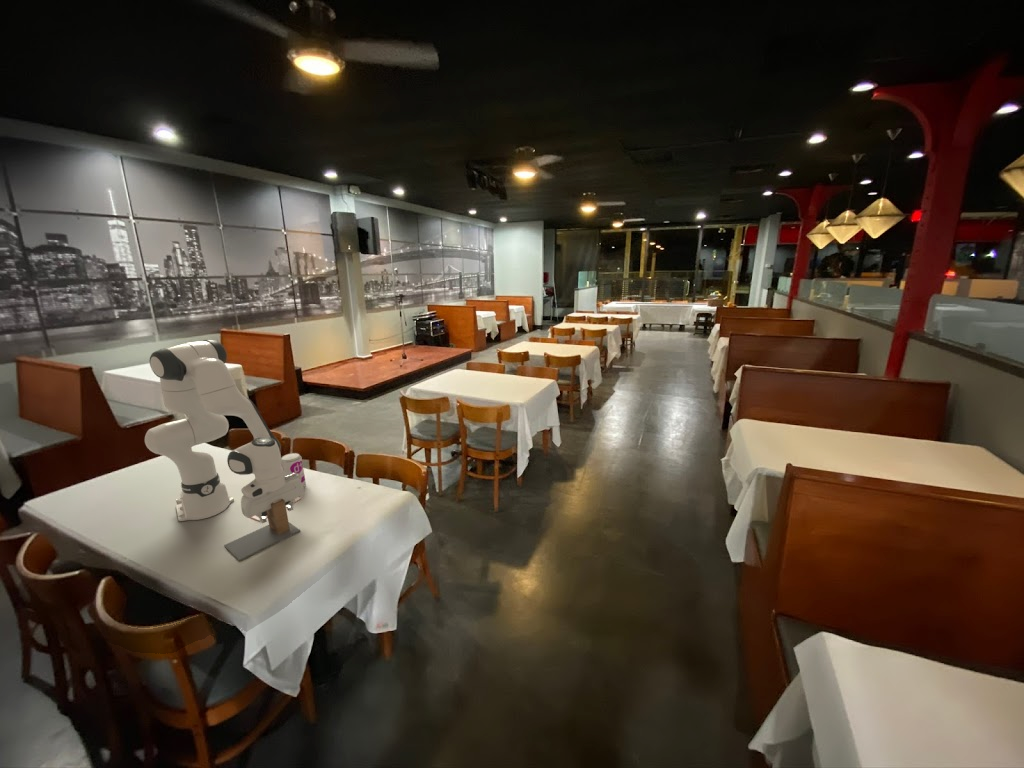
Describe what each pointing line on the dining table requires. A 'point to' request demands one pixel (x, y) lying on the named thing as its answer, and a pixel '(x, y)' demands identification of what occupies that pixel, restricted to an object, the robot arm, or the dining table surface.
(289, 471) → the supplement can
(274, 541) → the rubber mat
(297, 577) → the dining table surface
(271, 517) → the walnut block
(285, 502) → the cell phone
